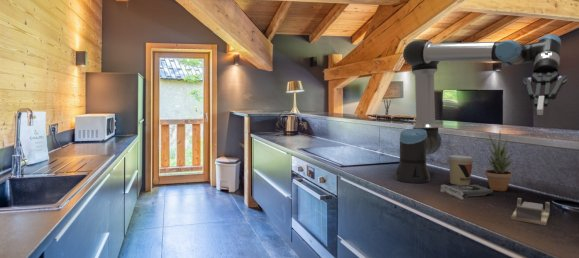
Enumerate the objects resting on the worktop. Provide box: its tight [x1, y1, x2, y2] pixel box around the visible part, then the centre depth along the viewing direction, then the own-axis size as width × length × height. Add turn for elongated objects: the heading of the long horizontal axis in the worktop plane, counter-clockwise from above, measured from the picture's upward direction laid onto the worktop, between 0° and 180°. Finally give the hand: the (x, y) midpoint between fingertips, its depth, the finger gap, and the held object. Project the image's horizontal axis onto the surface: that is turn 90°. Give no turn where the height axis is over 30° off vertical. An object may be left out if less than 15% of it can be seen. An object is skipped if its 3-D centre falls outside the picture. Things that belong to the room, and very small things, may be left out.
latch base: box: [510, 197, 551, 226], centre depth 106 cm, size 14×8×4 cm, turn 139°
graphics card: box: [440, 184, 494, 200], centre depth 132 cm, size 17×4×12 cm
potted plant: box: [484, 131, 514, 192], centre depth 139 cm, size 10×10×25 cm
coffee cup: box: [448, 154, 474, 186], centre depth 150 cm, size 9×9×12 cm
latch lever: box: [521, 201, 544, 210], centre depth 107 cm, size 2×5×11 cm
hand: (539, 112), depth 116 cm, fingers closed
